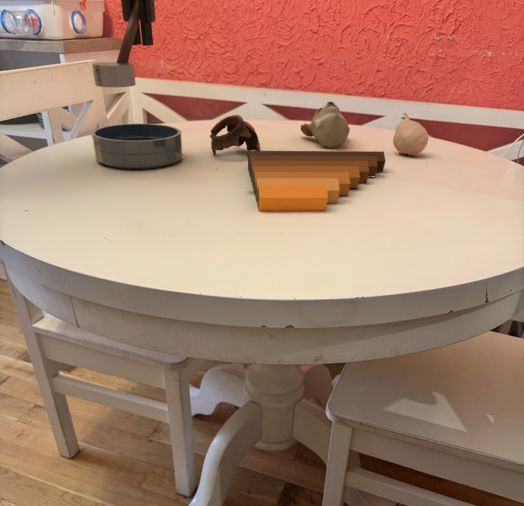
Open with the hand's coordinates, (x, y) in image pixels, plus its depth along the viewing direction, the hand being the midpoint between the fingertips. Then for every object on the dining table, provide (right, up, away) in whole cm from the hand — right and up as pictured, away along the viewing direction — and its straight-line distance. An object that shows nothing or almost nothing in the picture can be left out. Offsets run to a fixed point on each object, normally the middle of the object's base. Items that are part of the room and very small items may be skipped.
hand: (141, 44), depth 87 cm
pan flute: (+32, -26, -3) cm, 41 cm away
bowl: (-2, -17, +9) cm, 19 cm away
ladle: (-1, -7, -1) cm, 7 cm away
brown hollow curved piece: (+16, -14, +15) cm, 25 cm away
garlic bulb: (+52, -12, +18) cm, 56 cm away
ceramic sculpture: (+35, -7, +25) cm, 44 cm away
